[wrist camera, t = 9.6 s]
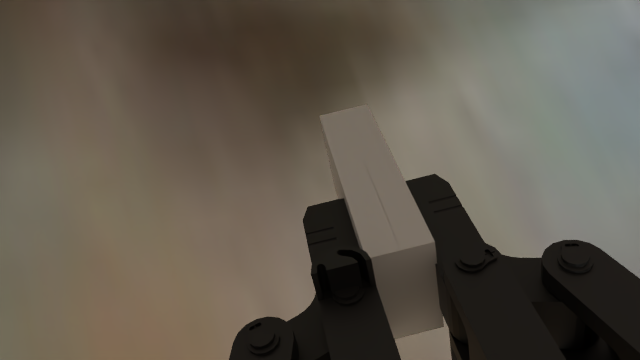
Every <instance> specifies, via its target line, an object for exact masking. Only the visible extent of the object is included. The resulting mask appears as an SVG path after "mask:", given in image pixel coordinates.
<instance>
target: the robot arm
mask: <svg viewBox="0 0 640 360" xmlns="http://www.w3.org/2000/svg"><path fill="white" fill-rule="evenodd" d="M319 117H320V121H321V126H322V130H323V135H324V140H325V144H326V149H327V153H328V158H329V162H330V167H331V171H332V176H333V181H334V185H335V189H336V192H337V195H338V199H337V200H333V201H329V202H325V203H321V204H317V205H313V206H309V207H308V208H307V210H306V213H305V216H304V218H303V224H304V229H305V233H306V238H307V243H308V248H309V253H310V257H311V262H312V268H311V276H312V279H313V283H314V287H315V290H316V295H315V298H314V300H313V301H312V303H311V305H310V306H309V307H308V308H307V309H306V310H305V311H304V312H302V313H301V314H299V315H298V316H296V317H294V318H292V319H291V320H289V321H287V322H286V321H284V320H282V319H280V318H276V317H264V318H260V319H256V320H254V321H252V322H250V323H249V324H247V325H245V326H244V327H243V328H242V329H241V330H240V331H239V332H238V334H237V336H236V338H235V340H234V342H233V346H232V350H231V354H230V358H229V360H401V358H400V355H399V352H398V349H397V346H396V343H395V340H394V339H397V338H401V337H405V336H409V335H413V334H417V333H421V332H425V331H429V330H432V329H436V328H440V327H444V325H443V316H444V318H445V321H446V323H447V325H448V328H449V335H450V345H451V356H452V360H640V279H639V278H638V277H637V276H635V275H634V274H633V273H631V272H630V271H629V270H627V269H626V268H625V267H624V266H622V265H621V264H620V263H618V262H617V261H616V260H614V259H613V258H612V257H610V256H609V255H608V254H606V253H605V252H604V251H602V250H601V249H600V248H598V247H596V246H594V245H592V244H590V243H587V242H583V241H579V240H563V241H560V242H556V243H553V244H552V245H550V246H549V247H548V248H546V249H545V251H544V253H543V255H542V258H516V257H509V256H505V255H502V254H501V253H500V252H499V251H498V250H497V249H496V248H495V247H493V246H490V245H488V244H486V243H485V242H484V241H483V239H482V238H481V236H480V234H479V233H478V231H477V229H476V228H475V226H474V224H473V223H472V221H471V219H470V218H469V216H468V214H467V213H466V211H465V209H464V208H463V207H462V204H461V203H460V201H459V199H458V198H457V197H456V194H455V193H454V191H453V189H452V188H451V186H450V184H449V183H448V182H447V181H445V180H444V179H442V178H440V177H439V176H437V175H436V174H433V175H429V176H425V177H420V178H416V179H412V180H408V181H405V180H404V178H403V176H402V174H401V172H400V170H399V168H398V165H397V163H396V161H395V159H394V157H393V155H392V153H391V151H390V149H389V147H388V145H387V143H386V141H385V139H384V137H383V135H382V133H381V131H380V129H379V127H378V125H377V123H376V121H375V119H374V117H373V115H372V112H371V110H370V108H369V106H368V104H364V105H360V106H356V107H352V108H348V109H344V110H340V111H336V112H332V113H328V114H324V115H320V116H319ZM442 314H443V315H442Z"/></svg>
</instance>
